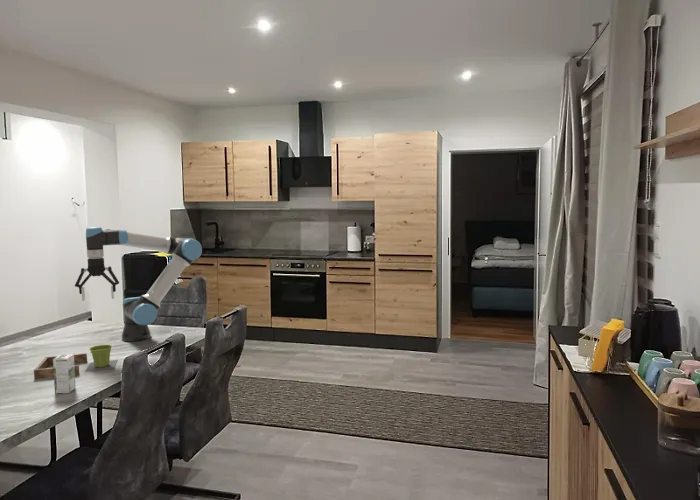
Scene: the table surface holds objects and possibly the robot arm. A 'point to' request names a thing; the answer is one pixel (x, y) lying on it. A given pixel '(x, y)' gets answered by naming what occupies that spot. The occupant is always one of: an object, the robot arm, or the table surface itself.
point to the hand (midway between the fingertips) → (98, 299)
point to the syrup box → (64, 373)
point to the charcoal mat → (93, 368)
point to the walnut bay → (45, 372)
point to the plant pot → (101, 355)
